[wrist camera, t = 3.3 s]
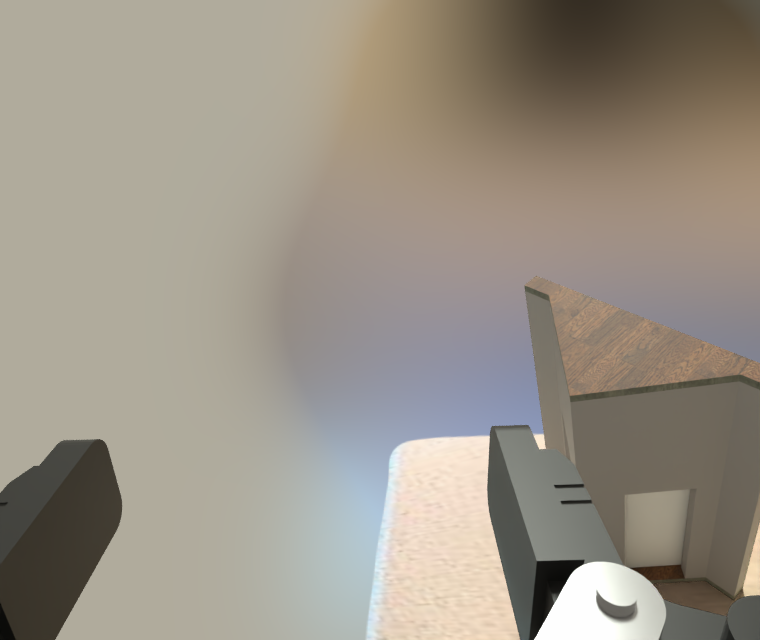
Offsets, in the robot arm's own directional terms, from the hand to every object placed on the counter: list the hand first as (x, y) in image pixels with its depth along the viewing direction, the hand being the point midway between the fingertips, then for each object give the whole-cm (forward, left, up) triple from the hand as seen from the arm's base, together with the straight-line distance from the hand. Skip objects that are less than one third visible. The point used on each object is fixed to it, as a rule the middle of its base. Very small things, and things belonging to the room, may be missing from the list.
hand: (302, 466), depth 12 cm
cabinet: (+20, -19, -51) cm, 58 cm away
